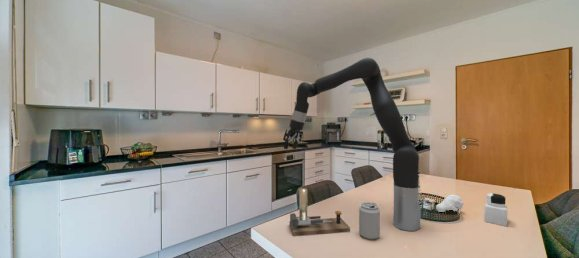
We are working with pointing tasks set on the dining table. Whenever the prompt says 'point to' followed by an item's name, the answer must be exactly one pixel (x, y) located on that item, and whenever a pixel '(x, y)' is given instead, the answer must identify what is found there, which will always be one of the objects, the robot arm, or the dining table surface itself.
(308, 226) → the track
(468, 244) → the dining table surface
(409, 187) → the robot arm
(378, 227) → the can
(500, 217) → the medicine bottle
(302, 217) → the slider
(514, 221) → the dining table surface
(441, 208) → the white cloth bundle
